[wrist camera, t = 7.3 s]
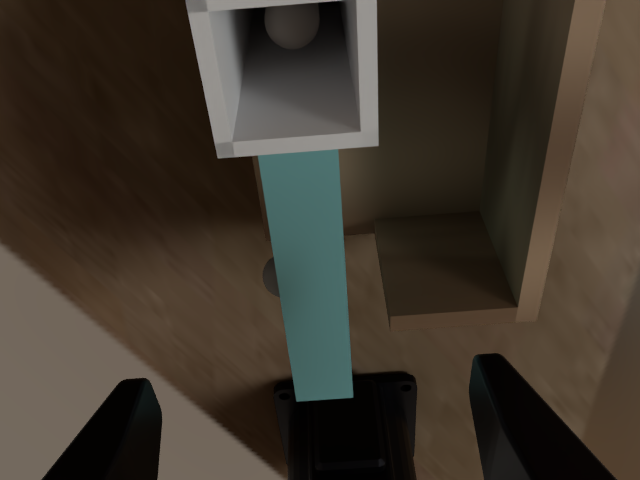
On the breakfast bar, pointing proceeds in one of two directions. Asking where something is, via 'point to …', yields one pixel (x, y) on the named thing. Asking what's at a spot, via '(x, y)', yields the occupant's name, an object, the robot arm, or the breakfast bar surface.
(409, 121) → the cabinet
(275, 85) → the white and teal holder
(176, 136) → the breakfast bar surface
